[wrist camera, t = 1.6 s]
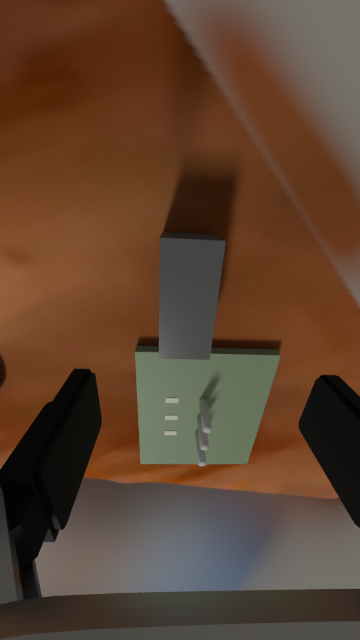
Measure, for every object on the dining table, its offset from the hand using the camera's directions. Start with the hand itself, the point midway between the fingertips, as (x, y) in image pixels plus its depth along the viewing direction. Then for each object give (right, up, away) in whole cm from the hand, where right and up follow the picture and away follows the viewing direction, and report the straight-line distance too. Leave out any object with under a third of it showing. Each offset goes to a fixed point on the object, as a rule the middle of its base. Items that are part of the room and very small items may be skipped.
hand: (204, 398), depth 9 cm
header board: (+2, -9, +20) cm, 22 cm away
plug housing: (-1, +7, +12) cm, 14 cm away
